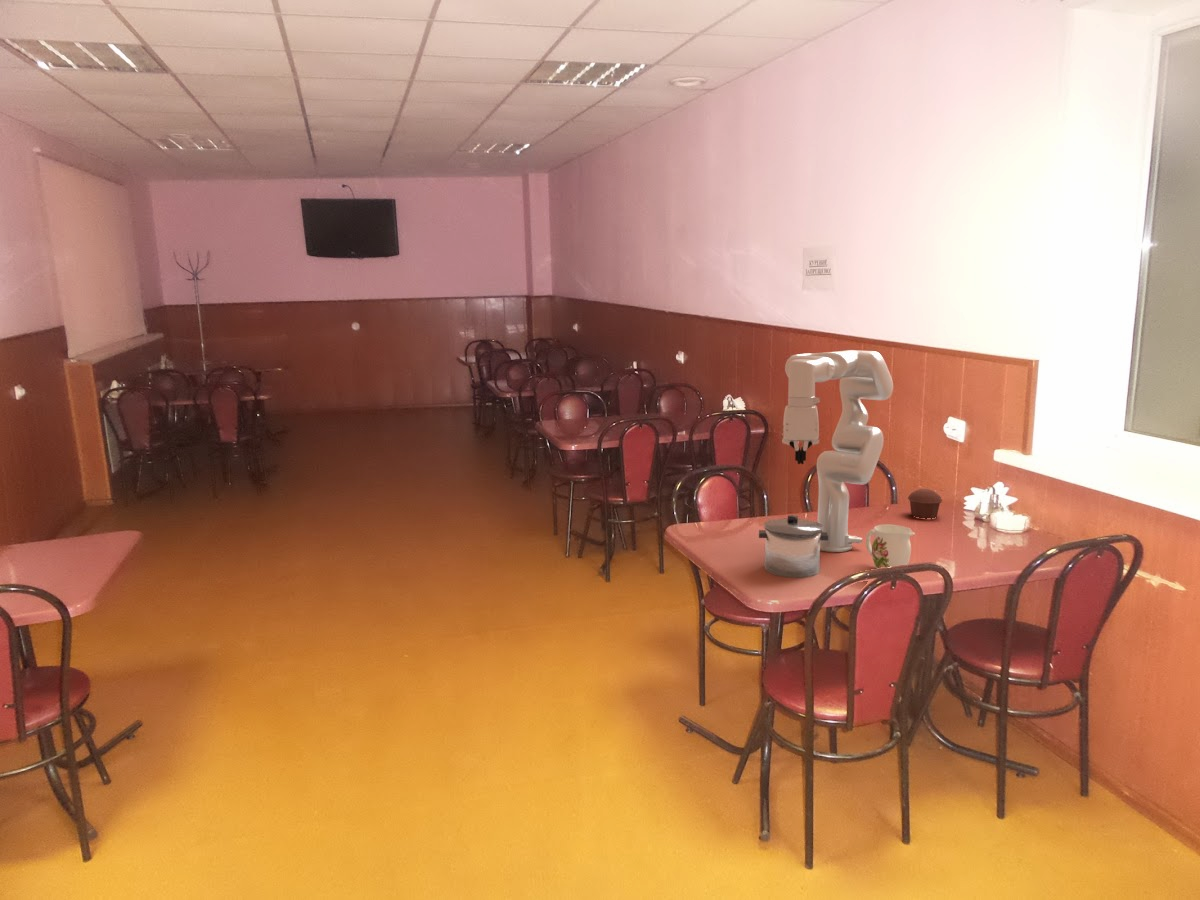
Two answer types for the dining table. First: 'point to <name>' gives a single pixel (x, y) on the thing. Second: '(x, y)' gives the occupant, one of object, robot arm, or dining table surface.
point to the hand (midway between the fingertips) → (800, 463)
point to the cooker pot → (792, 554)
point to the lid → (793, 526)
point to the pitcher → (889, 545)
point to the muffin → (924, 503)
